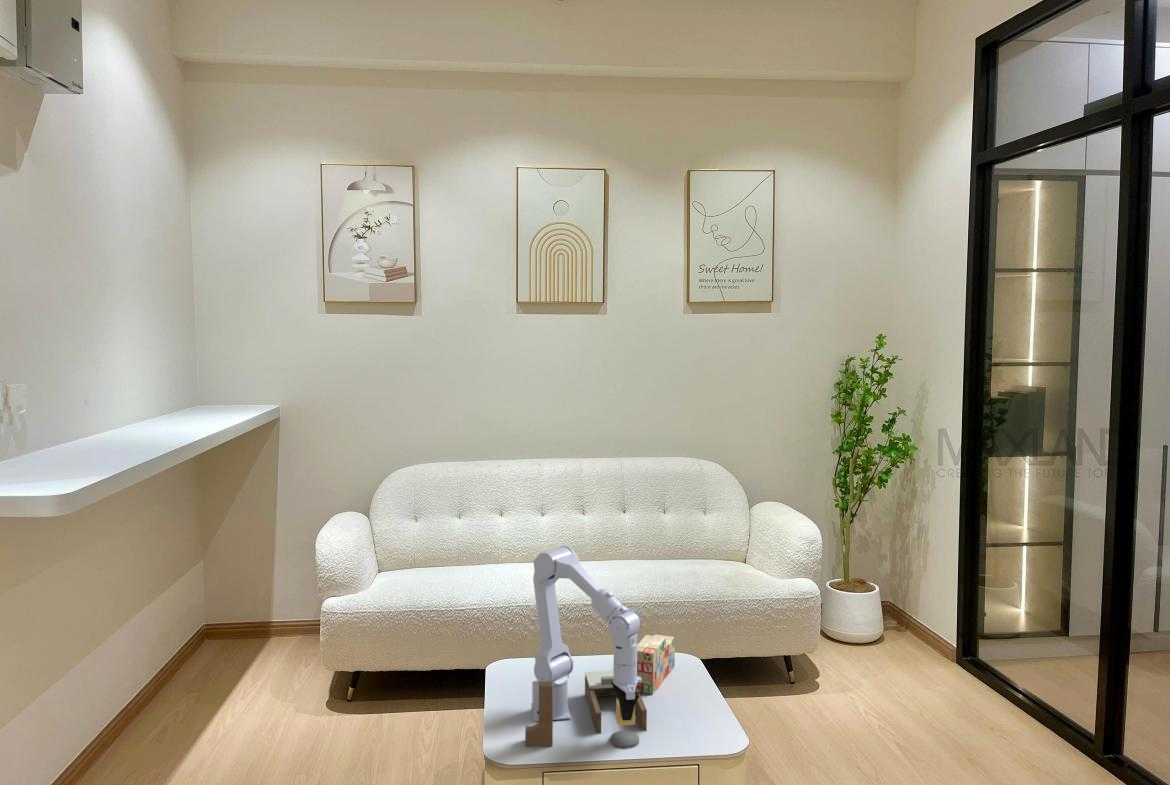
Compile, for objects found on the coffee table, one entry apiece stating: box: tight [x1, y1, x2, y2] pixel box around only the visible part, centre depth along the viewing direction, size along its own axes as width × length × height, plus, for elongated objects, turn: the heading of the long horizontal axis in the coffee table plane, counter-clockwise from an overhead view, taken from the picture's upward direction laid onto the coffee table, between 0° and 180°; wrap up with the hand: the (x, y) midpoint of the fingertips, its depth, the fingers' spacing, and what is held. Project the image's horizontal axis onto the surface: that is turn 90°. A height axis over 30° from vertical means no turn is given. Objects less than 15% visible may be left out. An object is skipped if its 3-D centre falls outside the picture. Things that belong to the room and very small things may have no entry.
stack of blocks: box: [636, 634, 676, 696], centre depth 233 cm, size 21×6×12 cm, turn 157°
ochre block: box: [615, 697, 636, 726], centre depth 197 cm, size 4×4×5 cm
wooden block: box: [524, 681, 554, 747], centre depth 195 cm, size 7×3×15 cm, turn 91°
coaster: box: [610, 730, 640, 749], centre depth 197 cm, size 7×7×1 cm
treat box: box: [584, 676, 648, 734], centre depth 212 cm, size 13×22×5 cm, turn 8°
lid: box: [584, 669, 614, 689], centre depth 219 cm, size 13×9×2 cm
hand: (625, 715), depth 197 cm, fingers closed on ochre block, 4 cm apart
